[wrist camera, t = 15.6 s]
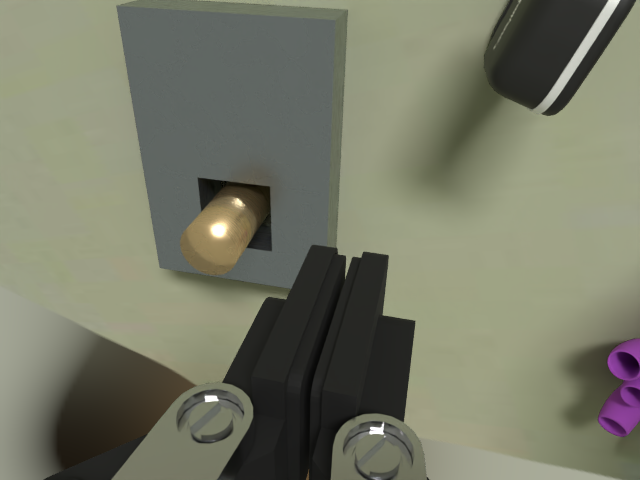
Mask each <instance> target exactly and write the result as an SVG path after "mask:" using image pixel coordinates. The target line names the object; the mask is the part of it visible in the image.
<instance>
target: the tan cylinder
mask: <svg viewBox="0 0 640 480" xmlns="http://www.w3.org/2000/svg"><path fill="white" fill-rule="evenodd" d="M270 210H271V198H270V186H262V185H254V184H246V183H238V182H230V181H228V182H227V183H226V184H225V185H224V187H223V188H222V189H221V190H220V191H219V192H218V193H217V195H216V196H215V197H214V198H213V199H212V200H211V201H210V202H209V204H208V205H207V206H206V207H205V208H204V209H203V210H202V212H201V213H200V214H199V215H198V216H197V217H196V218H195V220H194V221H193V222H192V223H191V224H190V225H189V226H188V227H187V229H186V230H185V231H184V232H183V234H182V236H181V239H180V247H181V251H182V254H183V256H184V257H185V259H186V260H187V261H188V263H189V264H190V265H191V266H193V267H194V268H195V269H197V270H198V271H200V272H203V273H205V274H209V275H222V274H225V273H227V272H229V271H230V270H231V269H232V268H233V267H234V265H235V264H236V262H237V261H238V259H239V258H240V256H241V255H242V253H243V252H244V250H245V249H246V247H247V245H248V244H249V242H250V241H251V239H252V238H253V236H254V235H255V233H256V232H257V230H258V229H259V227H260V226H261V224H262V222H263V221H264V219H265V218H266V216H267V215H268V213H269V212H270Z"/></svg>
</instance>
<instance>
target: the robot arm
mask: <svg viewBox="0 0 640 480" xmlns="http://www.w3.org/2000/svg"><path fill="white" fill-rule="evenodd" d="M388 258H389V255H384V254H377V253H370V252H363V254H362V258H358V257H353V258H352V260H351V263H350V267H349V270H348V273H347V276H346V279H345V268H346V256H344V255H338V250H337V248H334V247H327V246H320V245H311V247H310V249H309V251H308V253H307V256H306V258H305V260H304V262H303V264H302V267H301V269H300V271H299V273H298V275H297V277H296V280H295V282H294V284H293V286H292V288H291V290H290V293H289V295H288V297H287V299H286V300H285V299H279V298H273V297H268V298H266V299H265V301H264V302H263V304H262V306H261V308H260V310H259V312H258V314H257V316H256V318H255V320H254V322H253V324H252V326H251V328H250V329H249V331H248V333H247V335H246V337H245V339H244V341H243V343H242V345H241V347H240V349H239V351H238V353H237V355H236V357H235V359H234V360H233V362H232V364H231V366H230V368H229V370H228V372H227V374H226V376H225V378H224V380H223V382H222V383H206V384H203V385H199V386H196V387H193V388H192V389H190V390H188V391H186V392H184V393H183V394H182V395H181V396H180V397H179V398H178V399H177V400H175V402H174V403H173V404H172V405H171V406H170V408H169V409H168V410H167V411H166V412H165V414H164V415H163V416H162V417H161V419H160V420H159V421H158V422H157V424H156V425H155V426H154V428H153V429H152V430H151V431H150V432H149V434H146V435H144V436H142V437H140V438H137V439H135V440H133V441H130V442H128V443H126V444H124V445H121V446H119V447H117V448H114V449H112V450H110V451H107V452H105V453H103V454H100V455H98V456H96V457H94V458H91V459H89V460H87V461H84V462H82V463H80V464H77V465H75V466H73V467H71V468H68V469H66V470H64V471H62V472H59V473H57V474H55V475H52V476H50V477H48V478H46V479H44V480H306V477H307V474H308V470H309V480H429V479H428V477H427V476H426V466H425V458H424V451H423V448H422V444H421V442H420V440H419V438H418V437H417V435H416V434H415V432H414V431H413V430H412V429H411V428H410V427H408V426H407V425H406V424H405V423H404V416H405V407H406V398H407V390H408V381H409V373H410V364H411V355H412V347H413V338H414V329H415V321H413V320H407V319H401V318H395V317H389V316H383V315H382V314H383V305H384V296H385V287H386V278H387V269H388Z"/></svg>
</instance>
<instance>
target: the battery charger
mask: <svg viewBox="0 0 640 480" xmlns="http://www.w3.org/2000/svg"><path fill="white" fill-rule="evenodd" d="M635 2H636V0H509V2H508V4H507V6H506V8H505V10H504V12H503V13H502V15H501V17H500V19H499V21H498V23H497V25H496V27H495V29H494V31H493V34H492V37H491V42H490V43H489V46H488V48H487V50H486V52H485V55H484V68H485V72H486V75H487V78H488V81H489V84H490V85H491V87H492V88H493V89H494V90H495V91H496V92H497V93H499V94H500V95H502V96H504V97H505V98H508V99H510V100H512V101H514V102H517V103H519V104H521V105H523V106H525V107H527V109H529V110H530V111H532V112H534V113H536V114H543V115H546V116H551V115H555V114H557V113H558V112H560V111H561V110H562V109H563V108H564V107H565V106H566V105H567V104H568V103H569V101H570V100H571V99H572V97H573V96H574V94H575V93H576V92H577V90H578V89H579V87H580V86H581V84H582V83H583V81H584V80H585V78H586V77H587V75H588V74H589V72H590V71H591V70H592V68H593V67H594V65H595V64H596V62H597V61H598V59H599V58H600V56H601V55H602V53H603V52H604V50H605V49H606V47H607V46H608V44H609V43H610V41H611V40H612V38H613V37H614V35H615V34H616V32H617V31H618V29H619V27H620V26H621V24H622V23H623V21H624V20H625V18H626V17H627V15H628V14H629V12H630V10H631V9H632V7H633V5H634V4H635Z"/></svg>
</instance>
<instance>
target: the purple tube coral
mask: <svg viewBox="0 0 640 480" xmlns="http://www.w3.org/2000/svg"><path fill="white" fill-rule="evenodd" d="M607 363H608V367H609V369H610V371H611V372H612V373H613V374H614V375H615V376H616V377H618V378H620V379H622V380H624V381H623V383H622V385H621V386H619V387H618V388H617V389H616V390H614V392H613V393H612V394H611V395H610V396H609V398H608V399H607V400H606V402H605V403H604V405H603V407H602V409H601V411H600V414H599V416H598V421H599V424H600V425H601V426H602V427H603V428H604V429H605V430H607V431H608V432H610V433H611V434H614V435H616V436H620V437H624V436H626V435H628V434H629V433H630V432H631V431H632V430H633V428H634V427H635V426H636V425H637V424H638V422H639V421H640V338H639V339H631V340H628V341H626V342H623V343H621V344H619V345H618V346H616V347H615V348H614V349H613V350H612V351H611V353H610V355H609V356H608V360H607Z"/></svg>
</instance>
